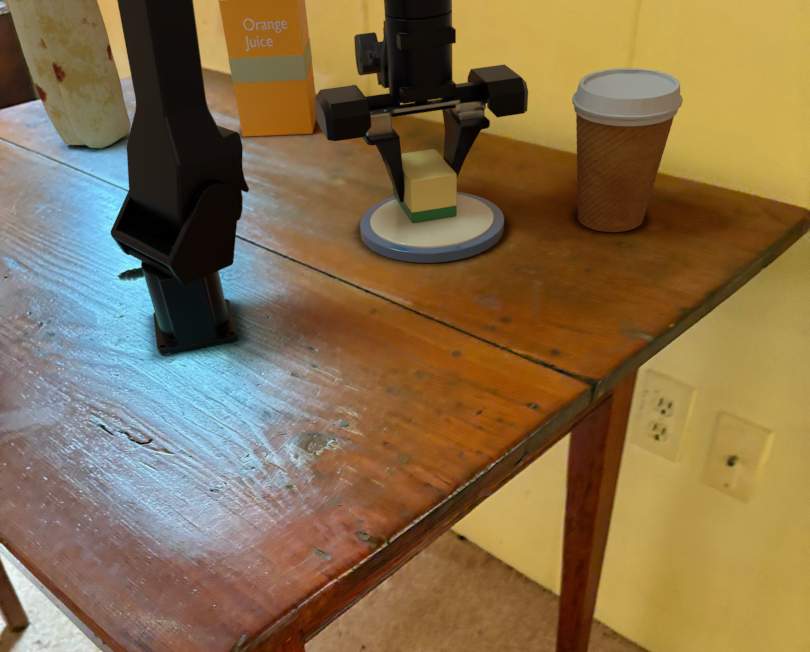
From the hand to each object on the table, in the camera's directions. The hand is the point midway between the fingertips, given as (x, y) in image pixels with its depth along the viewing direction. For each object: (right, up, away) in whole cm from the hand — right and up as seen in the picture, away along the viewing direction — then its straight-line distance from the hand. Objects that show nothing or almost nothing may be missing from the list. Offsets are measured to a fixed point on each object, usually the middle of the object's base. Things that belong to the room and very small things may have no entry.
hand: (424, 197), depth 79 cm
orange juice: (-18, +19, +23) cm, 35 cm away
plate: (+1, -3, 0) cm, 4 cm away
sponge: (0, -1, +1) cm, 1 cm away
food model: (-40, +16, +21) cm, 48 cm away
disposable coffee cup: (+18, -2, 0) cm, 18 cm away
